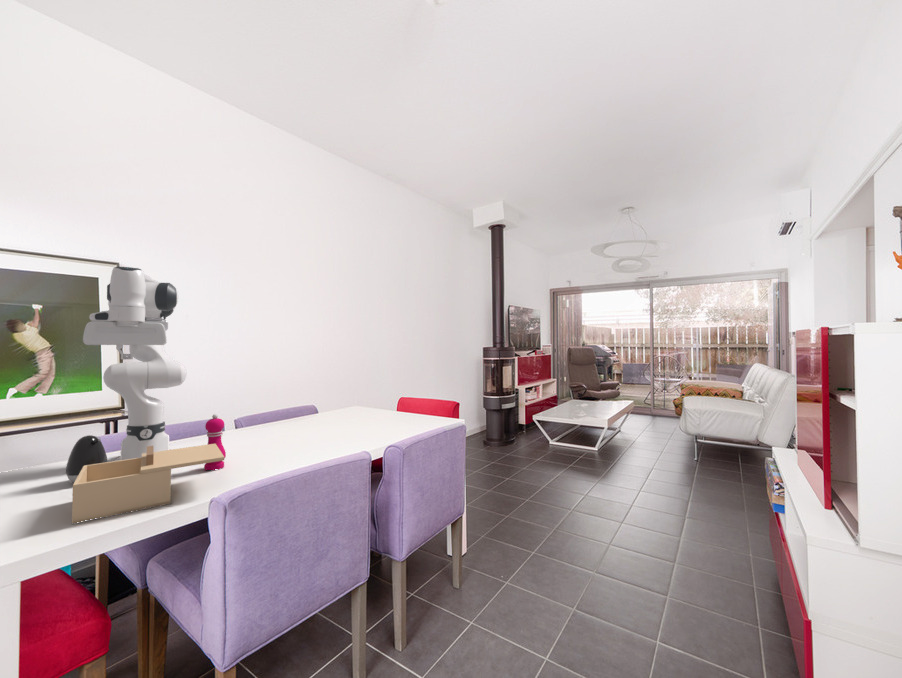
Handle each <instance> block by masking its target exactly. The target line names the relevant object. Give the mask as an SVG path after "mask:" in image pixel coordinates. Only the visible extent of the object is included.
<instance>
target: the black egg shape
mask: <svg viewBox="0 0 902 678" xmlns="http://www.w3.org/2000/svg"><path fill="white" fill-rule="evenodd" d="M106 462H109V460H108V456H107V452H106V449H105V446H104V445H103V443H102V441H101V440H100V438H99V437H97V436H95V435H92V434H91V435H90V434H89V435H84V436H82V437H80V438H79V439H77V441H76V442H75V444H74V446H73V447H72V449H71V451H70V454H69V456H68V459H67V463H66V467H65V475H66V476H67V478H68V480H69V481H70V482H71V483H73V484H74V482H75V480H76V479H77V477H78V475H79V473H80V472H81V470H82V468H83V466H85V465H92V464H99V463H106Z"/></svg>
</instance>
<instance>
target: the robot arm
mask: <svg viewBox="0 0 902 678" xmlns="http://www.w3.org/2000/svg"><path fill="white" fill-rule="evenodd" d="M106 286H107V287H106V299H107V301H108V302H107V305H108V310H103V311H102V310H101V311H98V312H93V313H92V312H91V313H90V314H89V320H90V321H89V322H87V323H86V325H85V327H84V330H83V334H82V335H83V336H82V342H83V344H85V345H86V346H116V350H117V352H118V353H119V355H120V360H121V361H122V360H123V361H124V360H134V359H135V360H137V361H130V362H129V361H128V362H127V361H125V362H120V363H113V364H111V365H109V366H108V367H107V368H106V369H105V371H104V373H103V376H102V379H103V383H104V385H105V386H106V387H107V388H109V389H110V390H112V391H113V392H116V393H117V394H118V395H119V396H120V397H121V398H122V399H123V400H124V402H125V404H126V408H127V414H128V415H127V416H128V419H127V420H128V421H127V422H128V423H127V424H128V425H126V429H125V430H126V437H125V438H124V439H122V440H121V443H120V456H119V457H117V458H116V459H115V460H114V461H120V460H127V459H134V458H141V457H142V454H143V453H147V446H153V452H158V451H165V450H171V449H170V435H169V434H168V433H166V431H165V430H166V421H164V420H165V418H164V417H165V416H164V415H165V404H164V402H163V401H162V400H160V399H158V398H156V397H152V396H149V395H147V394H146V393H145V391H146V390H152V389H154V390H155V389H168V388H172V387H178V386H181V385H182V384H183V383H184V382H185V381H186V379H187V369H186V367H185V366H184V365H183V363H181V362H178V361H177V360H175V359H173V358H171V357H170V356H169V355H168V354H167V353H166V351H165V347H164V345H166V344H167V341H168V340H167V332H166V331H167V330H168V329H169V322H168V321H167V320H166V319H167V317H170V316H172V314H173V313H174V310H175V309H176V307H177V304H178V302H179V294H178V292H179V291H177V288H176V286H174V285H173V284H172V283H170V282H160V281H158V280H155V279H152V278H151V277H150V276H148V275H146V274H145V272H144V270H143V269H141V268H139V267H132V266H131V267H129V266H116V267H113V268H112V271H111V276H110V281H109V283H108V284H107V285H106ZM124 346H129V349H128V350H129V353H124V352H123V351H122V349H123V347H124Z"/></svg>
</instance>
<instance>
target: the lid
mask: <svg viewBox="0 0 902 678" xmlns="http://www.w3.org/2000/svg"><path fill="white" fill-rule="evenodd" d="M216 461H225V458H224V456H223V454H222V453H221V451H220V450H219V448H218V447H217V445H216V444H209V445H207V444H203V445H196V446H190V447H189V446H188V447H181V448H180V447H179V448H174V449H170V450H165V451H158V452H153V446H147V453H143V454H142V458H141V470H140V474H143V473H149V472H156V471H162V470H168V469H171V470H172V469H179V468H185V467H192V466H196V465H197V466H198V465H205V464H206V463H210V462H216Z"/></svg>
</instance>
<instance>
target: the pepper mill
mask: <svg viewBox="0 0 902 678" xmlns="http://www.w3.org/2000/svg"><path fill="white" fill-rule="evenodd" d="M211 417H212V418H210V419H209V420H207V421H206V422H205V425H204V427H205V430H206V431H207V432H206V437H207V439H208V440H207V444H206V445H209V444H216V445H217V447H218V448H219V450H220V451H221V453H222V454H223V456H224V459H226V455H227V454H226V453H227V452H226V450H225V447H224V445H223V442H222V435H223V432H224V431H223V429H224V428H225V421H224V419H222V418H220V417H219V416H218V414H217V413H214V414H213V415H212V416H211ZM224 461H225V460H223V461H216V462H210V463H204V464H203V466H204V467H203V468H204V469H205V470H204V469H203V470H204V471H206V470H213V471H216V470H215V469H218V470H221V469H223V468H225V462H224ZM220 468H221V469H220Z"/></svg>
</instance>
